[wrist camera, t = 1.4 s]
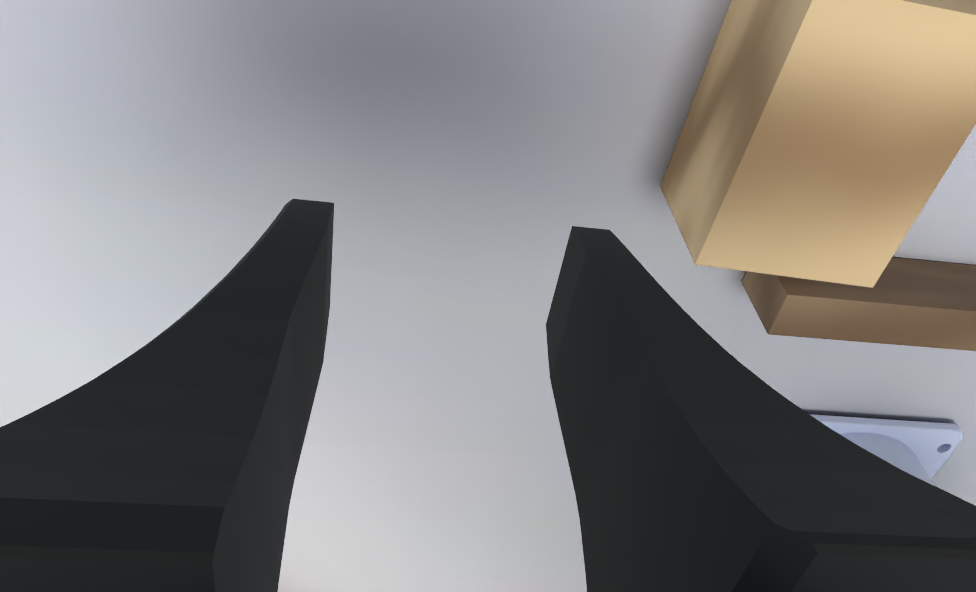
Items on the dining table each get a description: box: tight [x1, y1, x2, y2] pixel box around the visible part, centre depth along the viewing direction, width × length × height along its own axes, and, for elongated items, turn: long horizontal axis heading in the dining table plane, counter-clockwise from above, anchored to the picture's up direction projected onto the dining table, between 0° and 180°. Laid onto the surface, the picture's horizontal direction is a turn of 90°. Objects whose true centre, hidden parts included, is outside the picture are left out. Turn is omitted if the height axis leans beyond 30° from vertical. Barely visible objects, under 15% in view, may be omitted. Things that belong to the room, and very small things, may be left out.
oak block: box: [660, 0, 976, 288], centre depth 20 cm, size 7×5×4 cm
